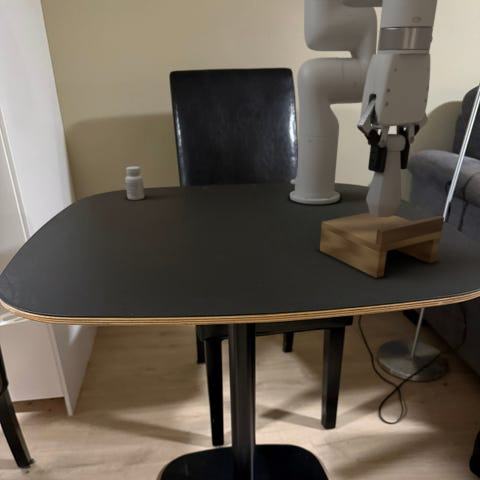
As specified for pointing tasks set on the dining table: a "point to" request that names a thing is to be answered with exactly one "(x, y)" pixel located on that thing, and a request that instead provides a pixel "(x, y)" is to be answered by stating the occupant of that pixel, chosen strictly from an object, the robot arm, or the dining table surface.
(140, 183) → the pill bottle
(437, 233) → the shelf
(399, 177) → the salt shaker
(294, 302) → the dining table surface
